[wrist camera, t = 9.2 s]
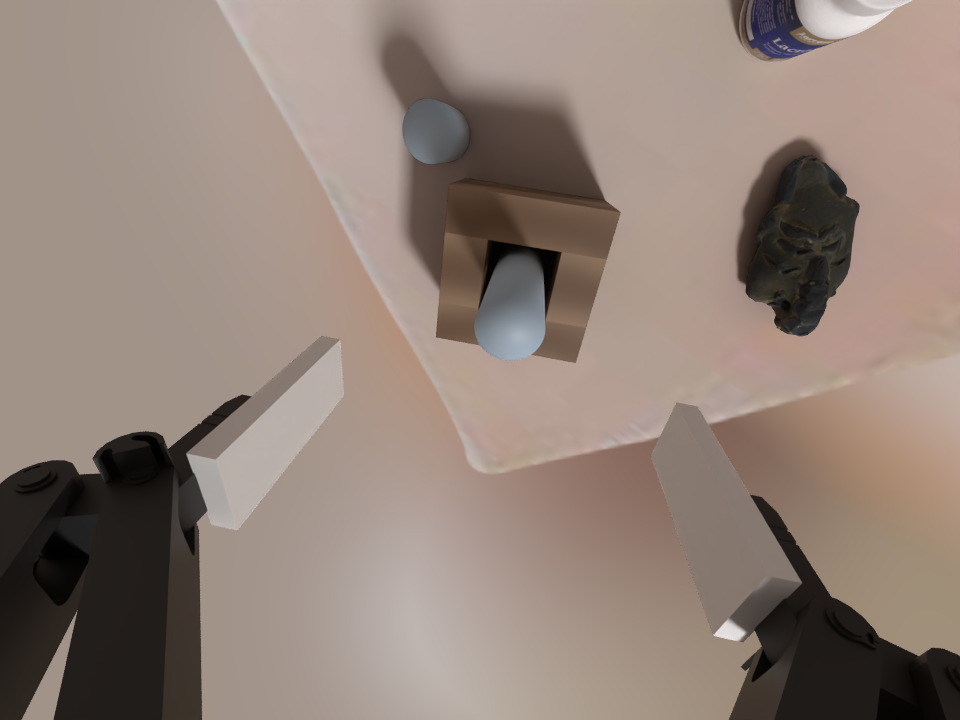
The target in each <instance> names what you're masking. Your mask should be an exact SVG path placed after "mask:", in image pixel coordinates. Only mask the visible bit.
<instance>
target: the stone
mask: <svg viewBox="0 0 960 720" xmlns="http://www.w3.org/2000/svg"><path fill="white" fill-rule="evenodd" d="M846 194H847V188H846V185H845V184H844V182H843V181H842V180H841V179H840V178H839V177H838V176H837V174H836V173H835V172H834V171H833V170H832V169H831V168H830V167H829V166H828V165H827V164H826V163H823V162H821V161H820V160H818V159H817V158H814V157H813V156H812V155H809V156H806V157H805V156H802V157H800V158H798V159H796V160H795V161H793V162H792V163H791V164H790V165H789V166H787V167H786V168H785V170H784V172H783V174H782V177H781V180H780V183H779V187H778V190H777V194H776V200H775V204H774V206H773V208H772V210H770V211H769V212H768V213H767V214H766V216H765V218H764V219H763V221H762V223H761V224H760V226H759V229H758V232H757V234H756V241H757V243H758V245H759V247H758V249H757V251H756V253H755V256H754V258H753V260H752V263H751V265H750V269H749V273H748V277H747V283H746V294H747V295H748V296H749V297H750V298H751V299H753V300H754V301H756V302H763V303H766V304H767V305H769V306H772V308H773V310H774V311H775V314H776V316H775V319H774V323H775V324H776V326H777V328H778V329H780V330H781V331H783V332H785V333H787V334H793V335H798V336H806V335H808V334H809V333H811V332H812V331H813V330H814V329H815V328H816V327H817V325H818V324H819V321H820V319H821V317H822V316H823V314H824V311H825V309H826V306H827V305H826V302H827V300H828V299H829V298H830V297H832V296H834V295H835V294H836V289H837V288H838V287H839V286H840V285H841V283H842V282H843V281H844V279H845V277H846V275H847V274H848V270H849V267H850V261H851V250H852V242H853V236H854V227H855V221H856V218H857V215H858V213H859V204H858V203H857V202H856V201H855V200H853V199H851V198H849V197H847V196H846Z"/></svg>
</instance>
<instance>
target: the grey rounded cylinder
mask: <svg viewBox="0 0 960 720" xmlns="http://www.w3.org/2000/svg"><path fill="white" fill-rule="evenodd" d="M403 138H404V142H405V144H406V147H407V148H408V150H409V152H410V153H411V154H412V155H413V156H414V157H415V158H416V159H417V160H419V161H421V162H423V163H427V164H437V163H445V162H452V161H455V160H457V159H459V158H460V157H461V156H462V155H463V154H464V153H465V151H466V150H467V148H468V145H469V141H470V129H469V125H468V122H467V120H466V118H465V116H464V115H463V114H462V113H461V112H460V111H459V110H458V109H456V108H454V107H452V106H450V105H447V104H445V103H443V102H440V101H438V100H435V99H431V98H426V99H421V100H419V101H417V102H415V103H414V104H413V105H412V106H411V107H410V108H409V109H408V111H407V112H406V115H405V117H404V120H403Z"/></svg>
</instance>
